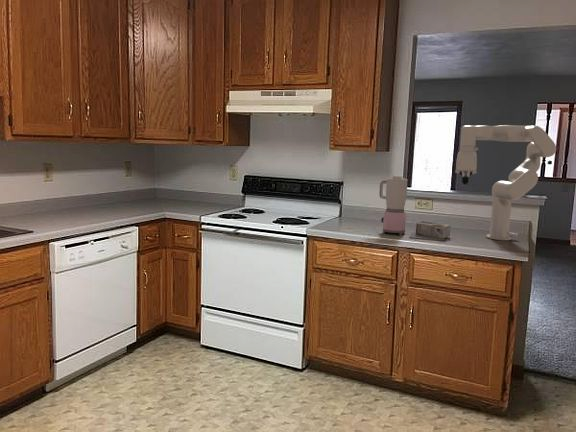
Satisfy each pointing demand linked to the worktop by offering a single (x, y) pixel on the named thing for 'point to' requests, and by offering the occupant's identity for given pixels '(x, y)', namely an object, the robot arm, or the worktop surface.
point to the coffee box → (433, 229)
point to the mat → (425, 237)
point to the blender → (394, 204)
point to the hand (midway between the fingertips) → (464, 184)
